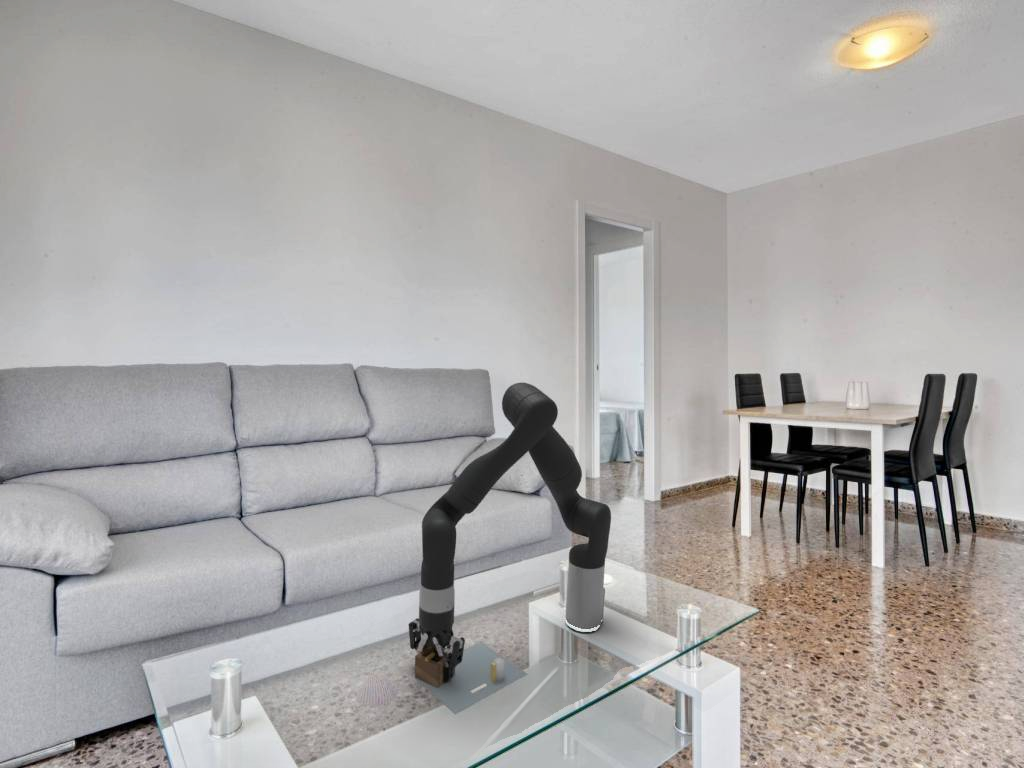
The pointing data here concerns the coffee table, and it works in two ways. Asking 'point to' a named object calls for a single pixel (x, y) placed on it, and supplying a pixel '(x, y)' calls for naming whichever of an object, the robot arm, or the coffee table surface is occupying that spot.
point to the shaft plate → (475, 678)
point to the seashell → (377, 690)
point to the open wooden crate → (430, 667)
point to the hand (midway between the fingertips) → (435, 674)
